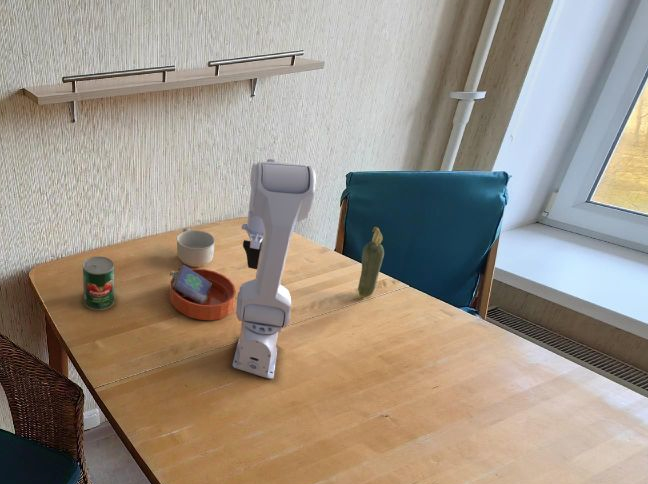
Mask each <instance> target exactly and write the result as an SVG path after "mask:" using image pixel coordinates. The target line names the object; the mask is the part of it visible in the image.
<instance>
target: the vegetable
mask: <svg viewBox="0 0 648 484" xmlns="http://www.w3.org/2000/svg"><path fill="white" fill-rule="evenodd" d="M373 232H374V233H373ZM372 233H373V236H372V238H371V241H369V242H367V243H365V245H364V247H363V249H362V254H361V272H360V277H359V282H358V286H357V291H358V295H359V296H360V297H361V298H367V297H370V296H372V295H373V293H374V292H375V289H376V287H377V283H378V278H379V274H380V270H381V267H382V265H383V261H384V256H385V249H384V247H383V245H382V244H381V243H382V242H383V234H382V232H381V231H380V228H379V227H377V226H374V227H373V228H372Z"/></svg>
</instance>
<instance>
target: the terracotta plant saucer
mask: <svg viewBox="0 0 648 484" xmlns="http://www.w3.org/2000/svg"><path fill="white" fill-rule="evenodd" d="M190 269H191V270H192V271H194V272H196V273H197V274H199V275H201V276H202V277H203V278H205V279H207V280H208V281H210V282H212V285H211V289H210V293H209V295H208V299H207V300H206V303H205V304H204V305H200V304H198V303H197V302H195V301H194V300H192V299H191V298H189V297H188V296H186V295H184V294H183V293H181V292H180V291H178V290H176V289H175V288H173V287H172V285H173V283H174V280H175V278H173V277H172V278H171V280H170V281H169V282H170V283H169V284H170V285H169V301H170V303H171V304H172V306H173V307H174V308H175V309H176V310H177V311H178V312H179V313H181V314H183V315H185V316H187V317H189V318H192V319H196V320H199V321H200V320H203V321H215V320H220V319H223V318H225V317H227V316H229V315H230V314H231V312H233V311H234V308H235V302H236V294H237V292H236V291H237V290H236V287H235V284H234V283H233V282H232V280H231V279H229V278H228V277H226V275H224V274H222V273H219V272H218V271H214V270H211V269H206V268H190Z"/></svg>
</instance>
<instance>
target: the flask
mask: <svg viewBox="0 0 648 484" xmlns="http://www.w3.org/2000/svg"><path fill="white" fill-rule="evenodd" d="M191 269H192V268H189V266H186V264H181V266H179V267H177V269H176V271H175V270H174V269H173V270H171V271H170V272H169V277H172V278H175V280H174V283H173V285H172V287H173V288H175V289H176V290H178V291H180V292H181V293H183V294H184V295H186V296H188V297H189V298H191V299H192V300H194V301H195V302H197V303H198V304H200V305H204V304H205V303H206V300H207V299H208V295H209V293H210V289H211V285H212V282H210V281H208V280H207V279H205V278H203V277H202V276H201V275H199V274H197V273H196V272H194V271H192V270H191Z"/></svg>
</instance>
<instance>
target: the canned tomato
mask: <svg viewBox="0 0 648 484" xmlns="http://www.w3.org/2000/svg"><path fill="white" fill-rule="evenodd" d="M114 266H115V264H114V261H113V260H111V259H110V258H108V257H106V256H92V257H88V258H87V259H85V260H83V262H82V282H83V283H82V284H83V302H84V306H86V307H87V308H88V309H90V310H93V311H105V310H108V309H110V308H111V307H113V305H114V304H115V267H114Z"/></svg>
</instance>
